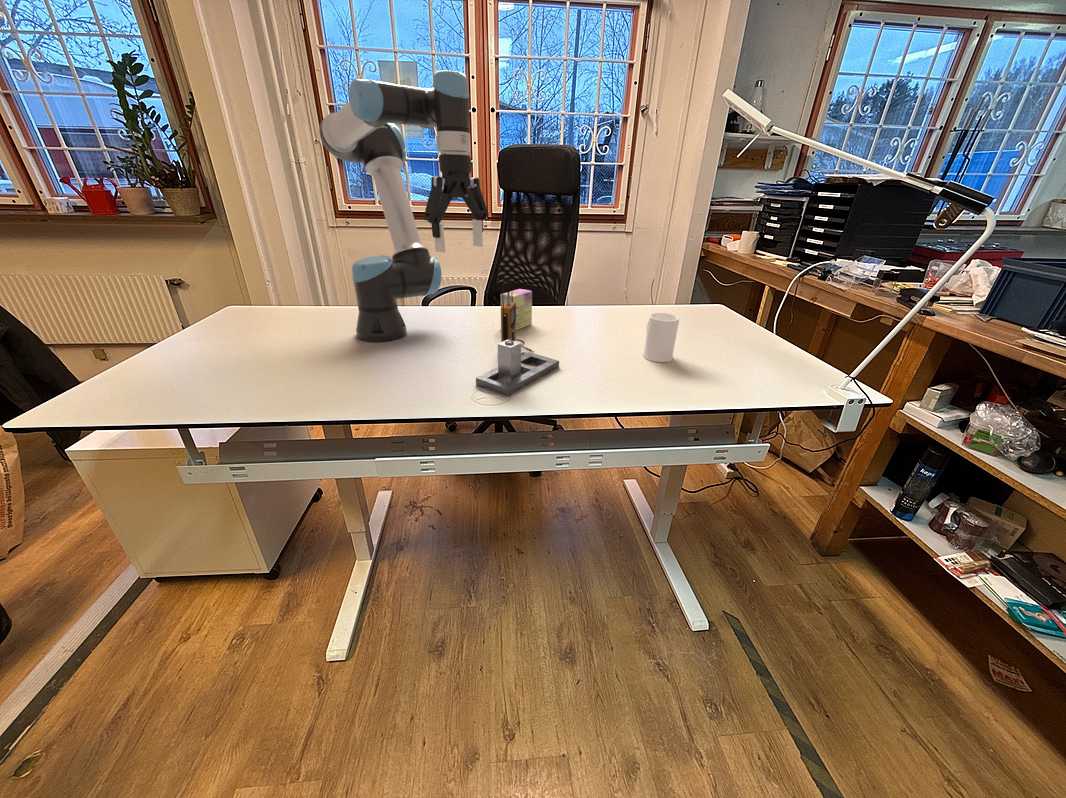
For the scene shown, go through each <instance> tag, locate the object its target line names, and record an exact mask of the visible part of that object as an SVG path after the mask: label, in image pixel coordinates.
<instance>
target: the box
mask: <svg viewBox="0 0 1066 798" xmlns="http://www.w3.org/2000/svg"><path fill="white" fill-rule="evenodd" d="M508 294H510V302H512V298H513V302H516V331H518V330H520V329H523V328H525V327H528V326H532V325H533V323H532V322H533V312H532V311H533V291H532V290H529V289H522V288H518V289H514V290H513V291H512V290H511V291H510V290H509V291H507V292H503V300H502V293H500V308H501V307H502V306H503V303H504V304H505V303H506V302H507V295H508Z"/></svg>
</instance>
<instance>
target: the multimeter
mask: <svg viewBox="0 0 1066 798" xmlns="http://www.w3.org/2000/svg"><path fill="white" fill-rule="evenodd" d="M509 280H510V282H511V291H514V290H513V288H514V282H513V280H512V279H511V278H508V279H506V282H503V284H502V291H501V292H502V293H501V294H502V300H503V293H504V286H505V285H506V287H507V289H510V285H509ZM516 334H517V330H516V302H513V298H512V302H510V294H508V295H507V302H506V303H505V304H504V303H503V306H502V307H501V306H500V336H501V337H500V340H501V341H500V343H501V342H503V341H506V340H512V341H515V342H517V341H519V342H521V348H522V347H523V348H524V349H526V350H527V351H523V352H522V351H521V355H525V354H527V353H529V352H532V353H535V350H532V348H529V347H528V346H527V347H526V346H524V344H525V341H524V340H521V339H517V337H516V336H517V335H516Z"/></svg>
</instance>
